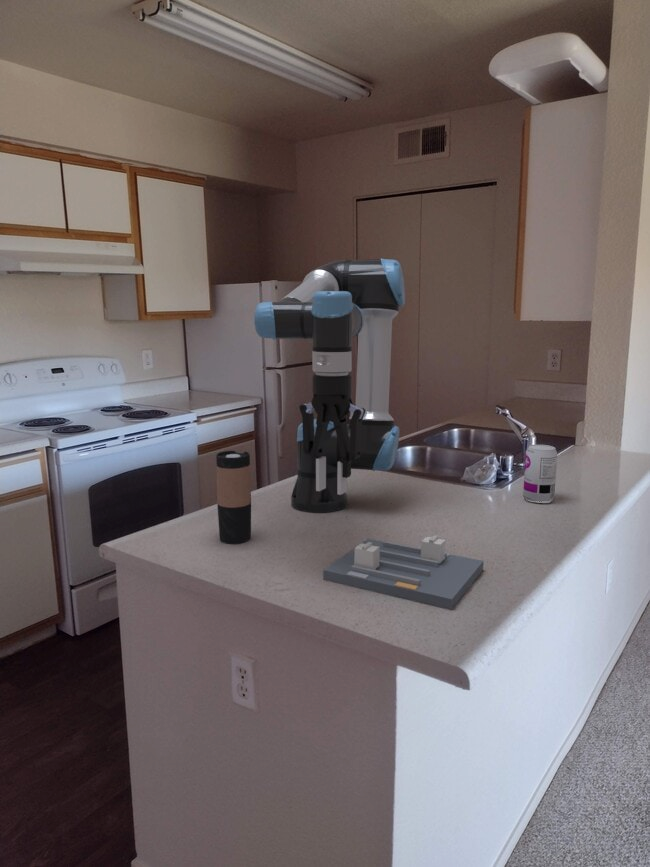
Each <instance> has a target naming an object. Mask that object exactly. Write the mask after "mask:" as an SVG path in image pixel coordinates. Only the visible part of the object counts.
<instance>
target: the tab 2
mask: <svg viewBox="0 0 650 867" xmlns="http://www.w3.org/2000/svg"><path fill="white" fill-rule="evenodd" d="M420 542H421V544H420V546H421V547H420V548H421V558H424V559H429V560H434V561H439V564H440V563H441V562H442V561H443V560H444V559H445V553H446V539H441V538H439V535H435V534H434V535H432V536H431V537H430V536H426V537H424V539H422V540H421V541H420Z"/></svg>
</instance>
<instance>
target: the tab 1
mask: <svg viewBox="0 0 650 867" xmlns="http://www.w3.org/2000/svg"><path fill="white" fill-rule="evenodd" d="M354 548H355V556H354V565H355V566H360V567H364V568H369V569H373V570H375V569H376V568H378V567H379V557H380V547H378V546H373V545H372V542H368V543H366V544H362V542H361V543H360V545H359V544H357V547H356V546H355V547H354Z"/></svg>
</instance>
